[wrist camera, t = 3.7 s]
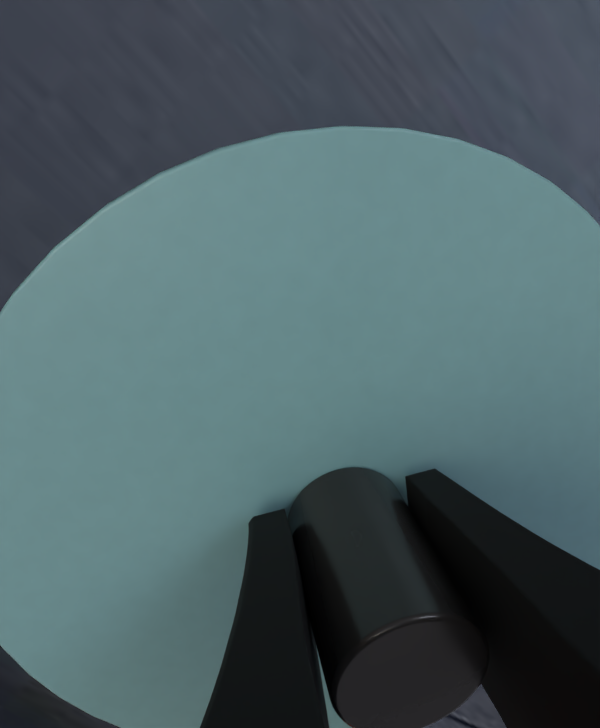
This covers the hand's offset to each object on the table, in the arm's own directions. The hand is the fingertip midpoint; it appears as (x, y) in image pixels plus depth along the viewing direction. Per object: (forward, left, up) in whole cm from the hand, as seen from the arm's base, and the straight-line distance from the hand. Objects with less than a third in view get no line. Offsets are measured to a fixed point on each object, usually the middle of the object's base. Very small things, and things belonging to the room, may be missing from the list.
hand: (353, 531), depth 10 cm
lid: (0, 0, -1) cm, 1 cm away
